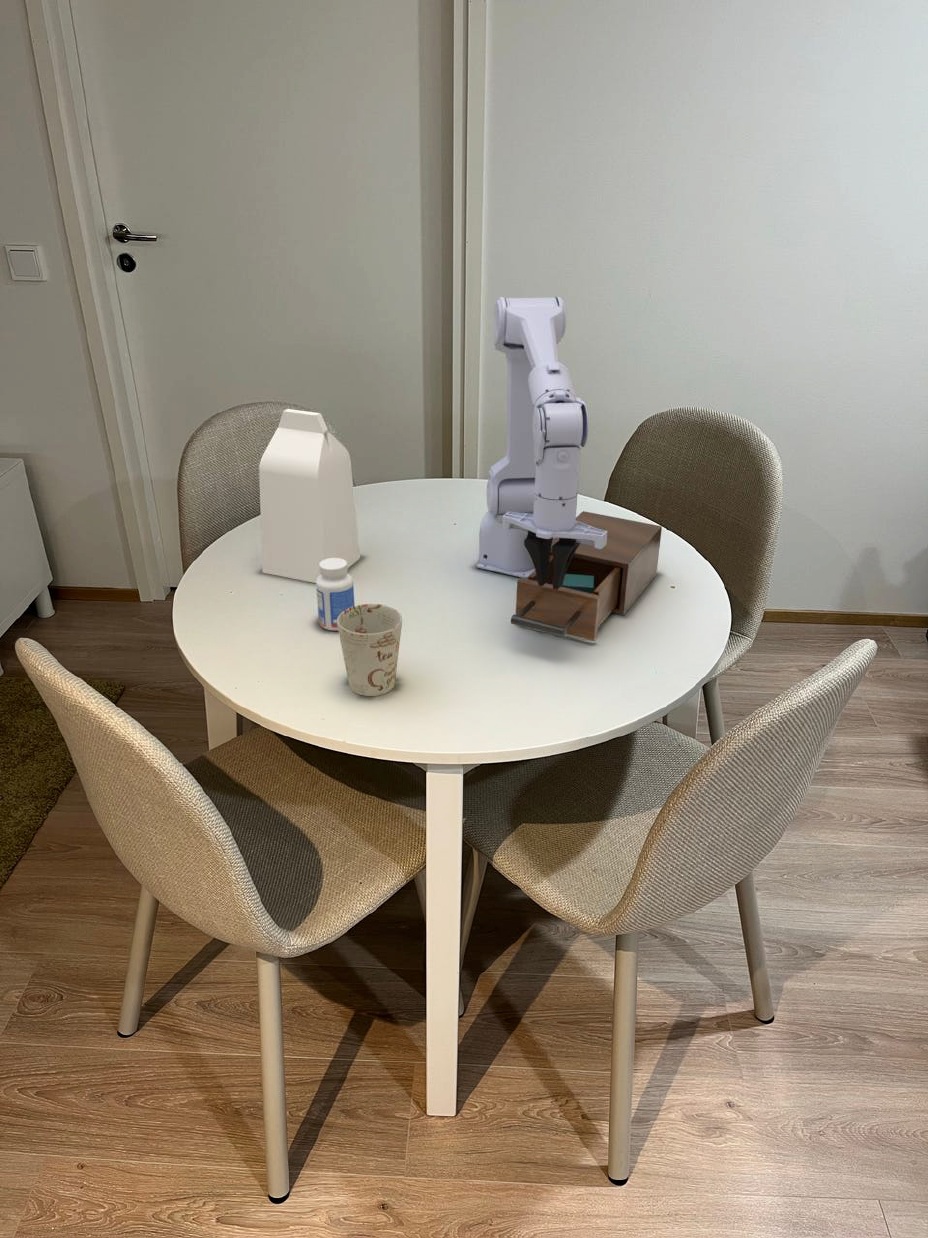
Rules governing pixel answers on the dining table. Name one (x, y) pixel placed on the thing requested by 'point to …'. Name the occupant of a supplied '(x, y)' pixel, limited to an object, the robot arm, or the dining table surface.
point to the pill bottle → (333, 591)
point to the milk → (306, 499)
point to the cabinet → (624, 552)
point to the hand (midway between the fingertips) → (550, 584)
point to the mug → (370, 647)
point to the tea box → (579, 582)
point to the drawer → (568, 601)
